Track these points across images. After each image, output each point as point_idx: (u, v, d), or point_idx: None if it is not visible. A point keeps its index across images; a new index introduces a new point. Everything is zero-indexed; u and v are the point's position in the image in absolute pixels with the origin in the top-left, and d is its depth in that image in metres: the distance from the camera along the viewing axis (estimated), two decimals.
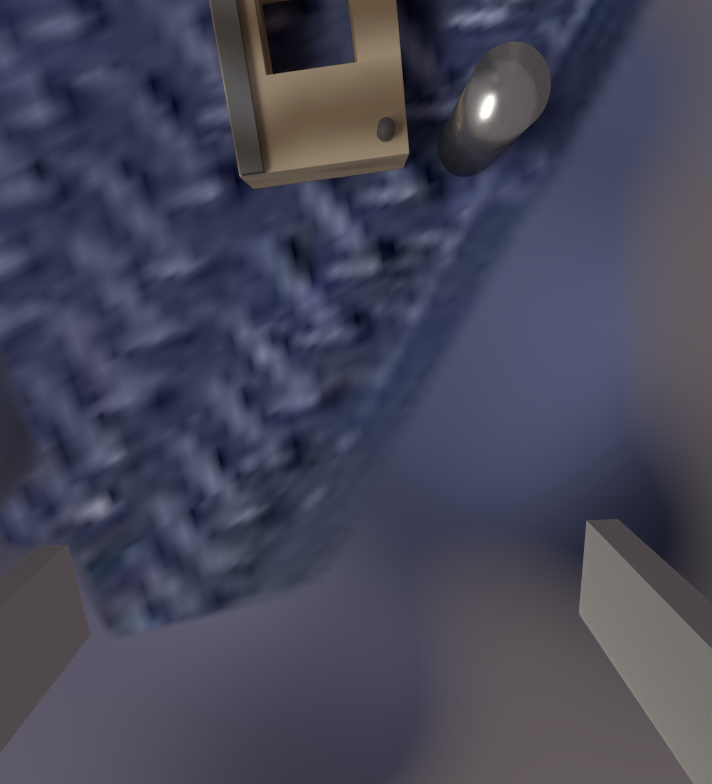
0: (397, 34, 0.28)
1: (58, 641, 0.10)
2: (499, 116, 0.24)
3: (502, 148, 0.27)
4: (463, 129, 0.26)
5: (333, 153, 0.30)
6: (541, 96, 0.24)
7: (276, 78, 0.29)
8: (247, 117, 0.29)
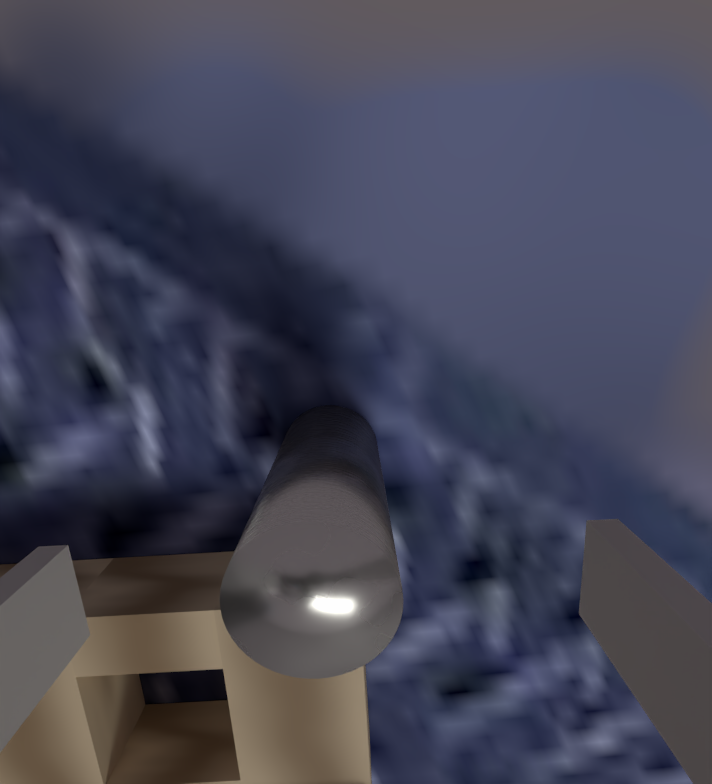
0: (184, 614, 0.17)
1: (58, 641, 0.10)
2: (367, 624, 0.10)
3: (386, 504, 0.14)
4: None
5: (351, 706, 0.18)
6: (332, 540, 0.10)
7: (244, 768, 0.19)
8: None
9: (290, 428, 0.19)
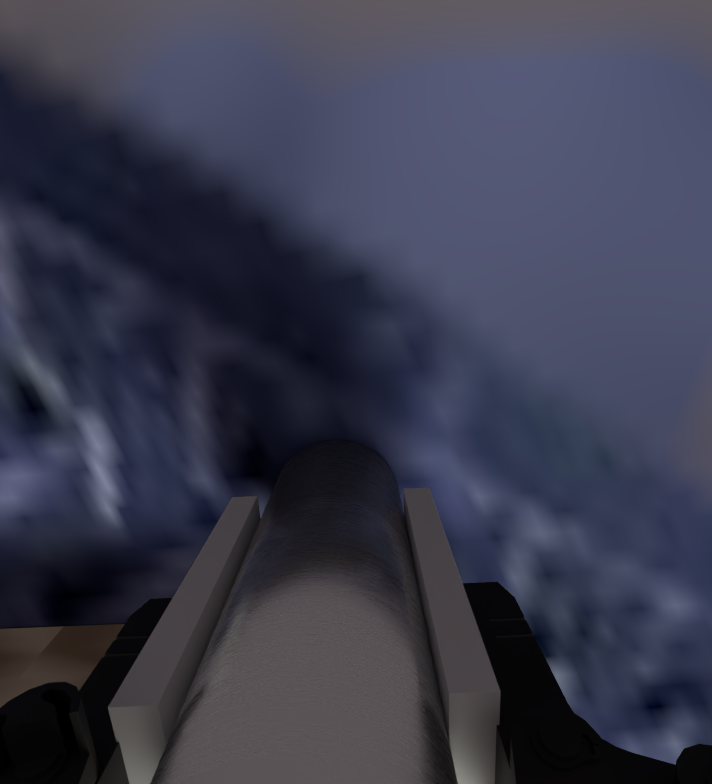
0: None
1: None
2: None
3: (424, 624, 0.09)
4: None
5: None
6: None
7: None
8: None
9: (282, 473, 0.14)
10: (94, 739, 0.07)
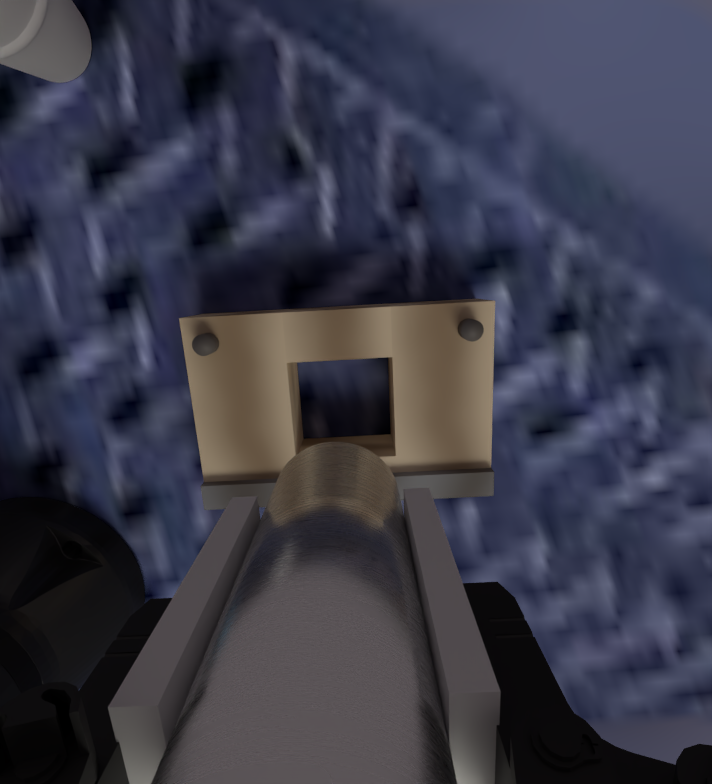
0: (369, 309, 0.24)
1: None
2: None
3: (424, 627, 0.08)
4: None
5: (482, 391, 0.25)
6: None
7: (399, 445, 0.26)
8: (438, 481, 0.26)
9: (282, 474, 0.14)
10: (94, 739, 0.07)
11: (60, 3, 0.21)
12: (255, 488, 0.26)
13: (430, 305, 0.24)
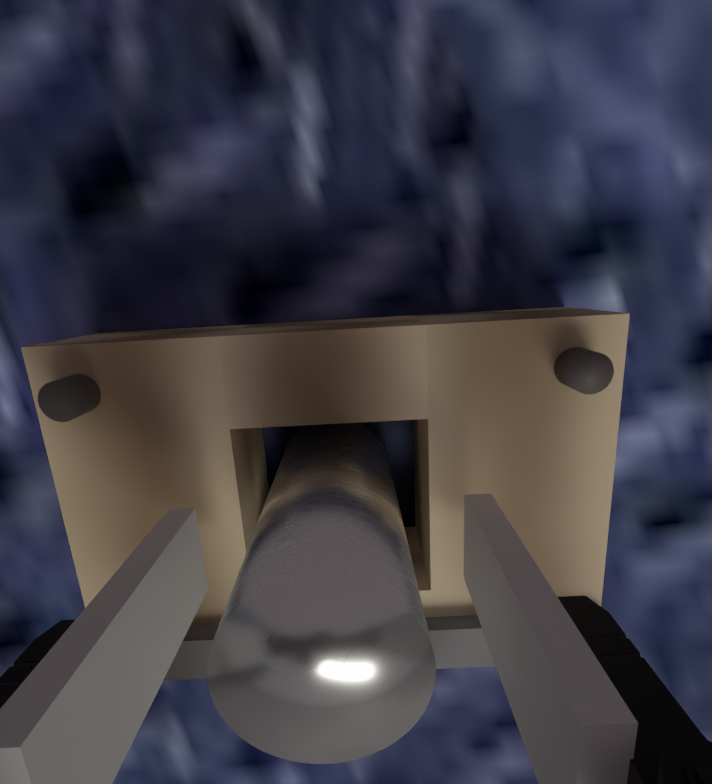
0: (385, 330, 0.13)
1: (192, 590, 0.12)
2: (391, 700, 0.08)
3: (406, 538, 0.11)
4: None
5: (593, 480, 0.14)
6: (348, 600, 0.08)
7: (438, 572, 0.15)
8: None
9: (291, 441, 0.17)
10: None
11: None
12: (179, 648, 0.15)
13: (503, 322, 0.12)
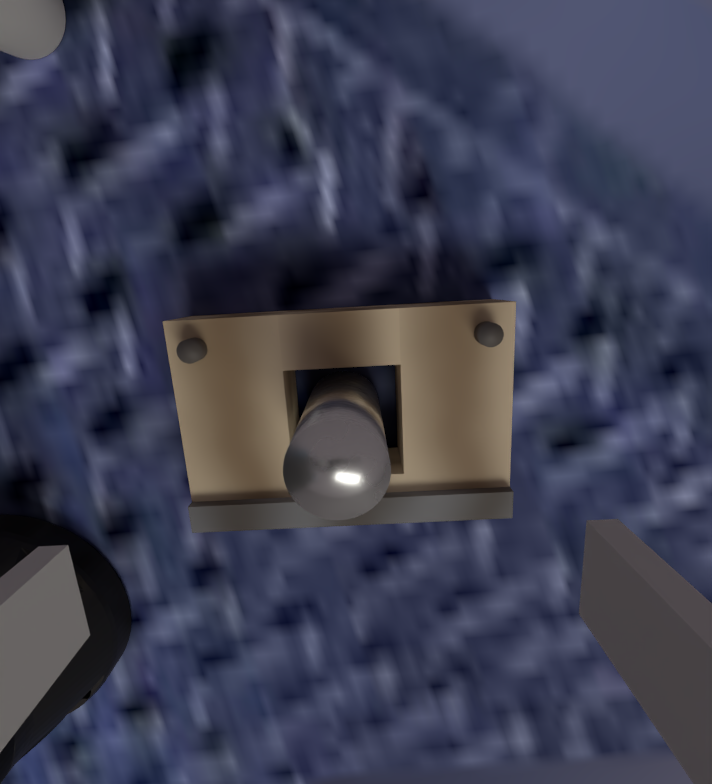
0: (375, 311, 0.22)
1: (58, 641, 0.10)
2: (369, 485, 0.17)
3: (383, 426, 0.21)
4: None
5: (500, 402, 0.23)
6: (349, 431, 0.17)
7: (408, 462, 0.24)
8: (451, 502, 0.24)
9: (315, 386, 0.26)
10: None
11: None
12: (248, 509, 0.24)
13: (443, 306, 0.22)
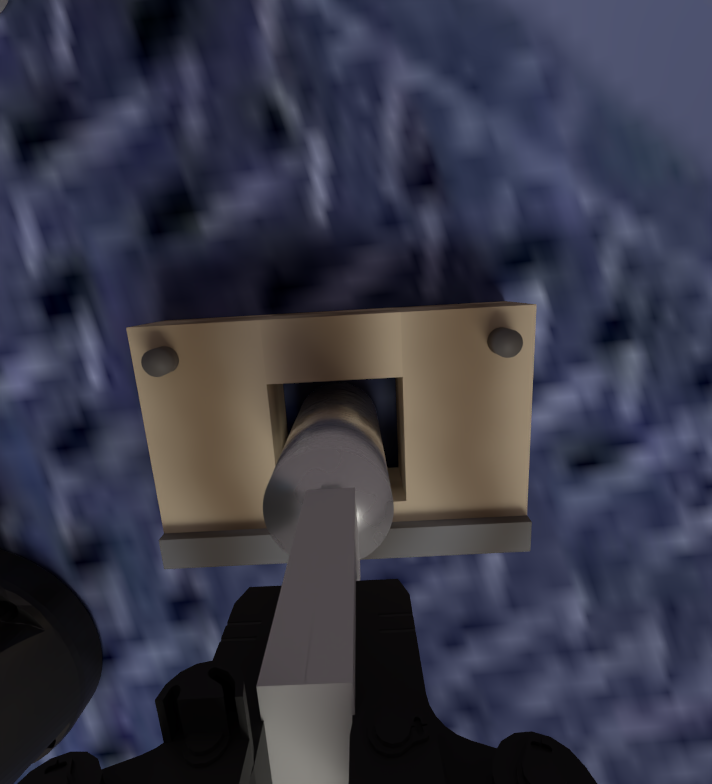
0: (373, 316, 0.19)
1: None
2: (368, 525, 0.14)
3: (383, 450, 0.18)
4: None
5: (517, 420, 0.20)
6: (343, 462, 0.14)
7: (411, 488, 0.21)
8: (461, 534, 0.21)
9: (305, 400, 0.23)
10: None
11: None
12: (228, 542, 0.21)
13: (452, 310, 0.19)
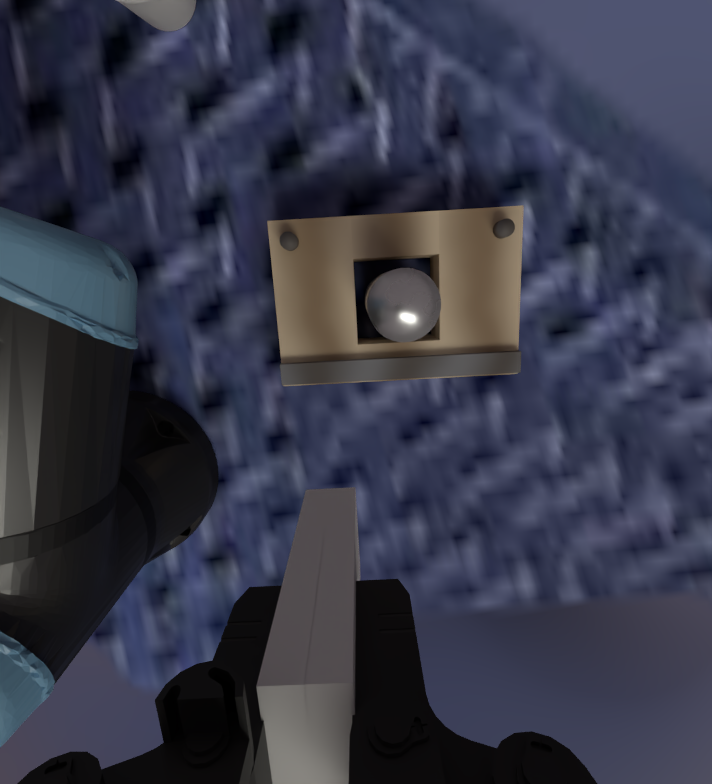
0: (421, 213, 0.30)
1: None
2: (426, 315, 0.26)
3: None
4: None
5: (512, 283, 0.31)
6: (413, 276, 0.25)
7: (443, 330, 0.32)
8: (475, 360, 0.32)
9: (370, 282, 0.34)
10: None
11: None
12: (324, 366, 0.32)
13: (471, 209, 0.30)
